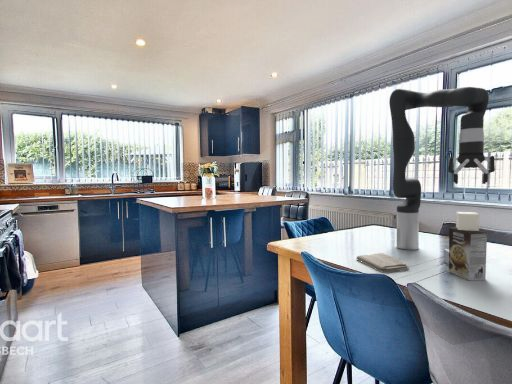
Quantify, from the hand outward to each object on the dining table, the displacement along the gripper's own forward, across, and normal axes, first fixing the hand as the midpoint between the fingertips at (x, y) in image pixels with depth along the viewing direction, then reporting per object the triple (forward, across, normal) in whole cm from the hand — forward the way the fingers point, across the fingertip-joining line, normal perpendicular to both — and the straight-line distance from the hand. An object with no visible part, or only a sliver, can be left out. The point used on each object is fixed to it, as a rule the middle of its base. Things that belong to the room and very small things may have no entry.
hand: (469, 183), depth 109 cm
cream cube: (+15, -3, -17) cm, 23 cm away
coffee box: (+31, -3, -18) cm, 36 cm away
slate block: (+31, -5, -3) cm, 32 cm away
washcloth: (+32, -30, -16) cm, 46 cm away
